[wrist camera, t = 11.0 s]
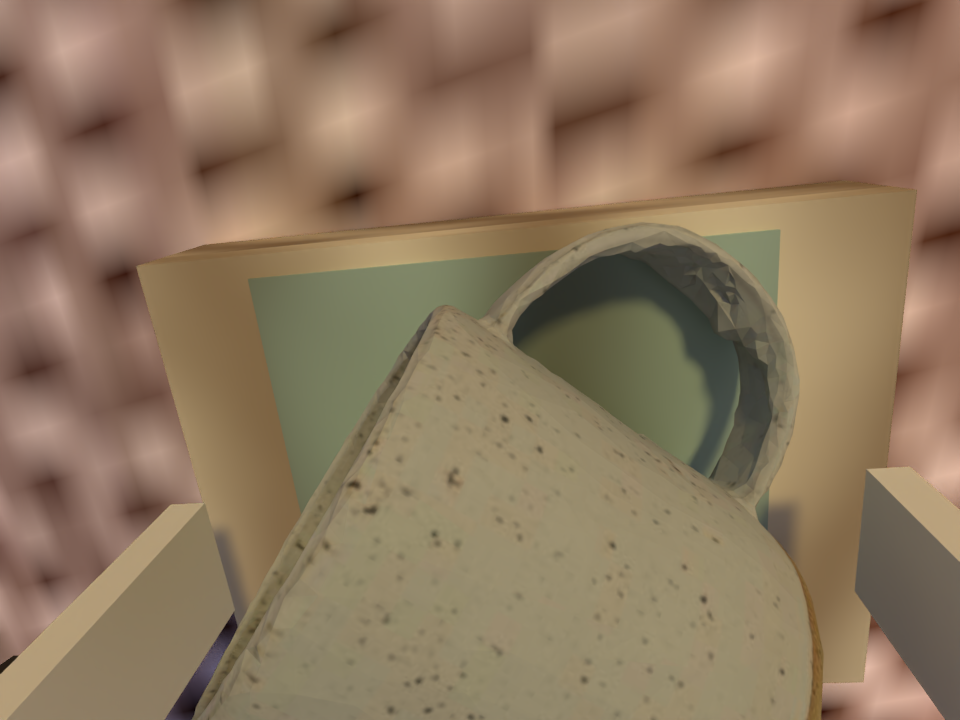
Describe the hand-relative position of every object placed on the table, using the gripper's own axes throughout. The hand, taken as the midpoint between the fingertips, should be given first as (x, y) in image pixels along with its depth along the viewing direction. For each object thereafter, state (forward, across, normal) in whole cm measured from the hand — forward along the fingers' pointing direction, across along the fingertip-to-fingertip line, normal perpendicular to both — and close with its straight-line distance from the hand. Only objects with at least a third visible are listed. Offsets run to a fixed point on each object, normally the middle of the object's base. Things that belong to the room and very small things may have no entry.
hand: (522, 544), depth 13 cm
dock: (+5, 0, 0) cm, 5 cm away
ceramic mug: (+2, 0, +1) cm, 3 cm away
